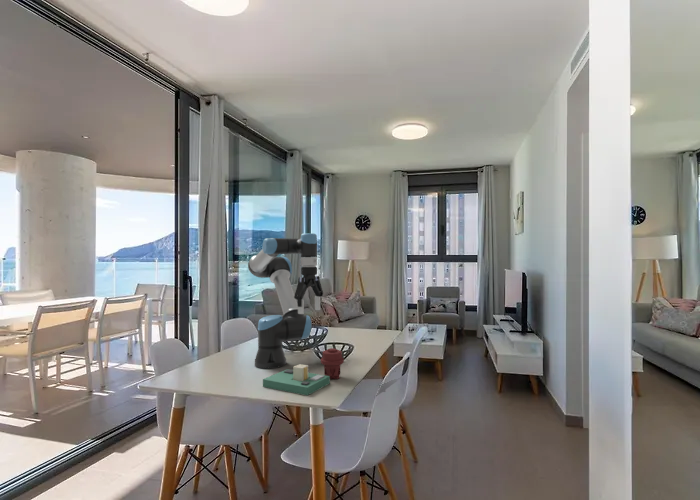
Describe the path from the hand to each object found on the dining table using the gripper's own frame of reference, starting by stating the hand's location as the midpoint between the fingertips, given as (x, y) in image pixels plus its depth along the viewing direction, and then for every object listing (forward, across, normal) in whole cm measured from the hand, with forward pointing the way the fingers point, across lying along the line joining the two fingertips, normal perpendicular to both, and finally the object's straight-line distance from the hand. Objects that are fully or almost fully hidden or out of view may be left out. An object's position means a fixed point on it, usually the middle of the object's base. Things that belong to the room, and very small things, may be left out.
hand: (309, 311), depth 186 cm
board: (+27, -21, -8) cm, 35 cm away
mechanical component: (+27, -6, -16) cm, 32 cm away
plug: (+27, -21, -10) cm, 35 cm away
